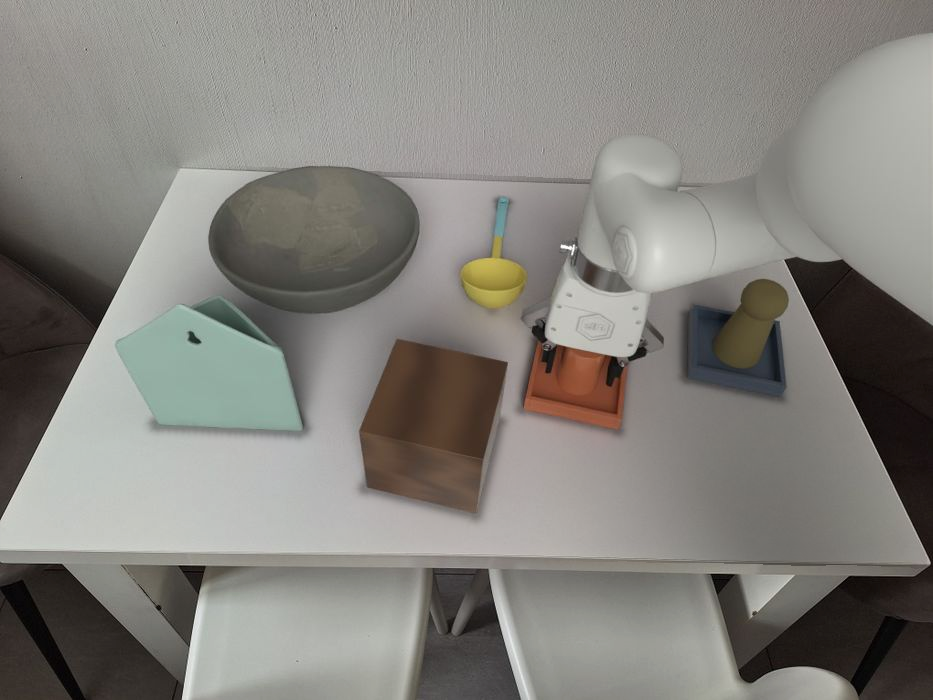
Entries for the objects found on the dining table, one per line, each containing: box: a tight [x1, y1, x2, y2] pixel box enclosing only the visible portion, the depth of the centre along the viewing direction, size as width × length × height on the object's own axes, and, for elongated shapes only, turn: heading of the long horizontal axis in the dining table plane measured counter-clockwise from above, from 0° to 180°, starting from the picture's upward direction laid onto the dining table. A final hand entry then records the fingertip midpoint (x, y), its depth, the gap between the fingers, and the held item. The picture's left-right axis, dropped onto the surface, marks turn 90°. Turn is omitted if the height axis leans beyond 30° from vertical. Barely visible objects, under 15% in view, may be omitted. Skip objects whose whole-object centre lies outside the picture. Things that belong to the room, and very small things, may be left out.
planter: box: [114, 294, 304, 432], centre depth 68 cm, size 16×8×20 cm, turn 89°
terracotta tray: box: [522, 339, 628, 430], centre depth 79 cm, size 11×11×2 cm
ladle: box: [459, 196, 528, 309], centre depth 93 cm, size 9×26×6 cm, turn 174°
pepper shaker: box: [712, 278, 790, 369], centre depth 80 cm, size 6×6×11 cm
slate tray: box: [686, 304, 787, 398], centre depth 83 cm, size 11×11×2 cm
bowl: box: [207, 165, 421, 314], centre depth 86 cm, size 26×26×10 cm
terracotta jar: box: [556, 346, 607, 396], centre depth 77 cm, size 5×5×7 cm
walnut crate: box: [358, 338, 509, 514], centre depth 68 cm, size 12×12×11 cm
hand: (579, 370), depth 78 cm, fingers open, 6 cm apart
